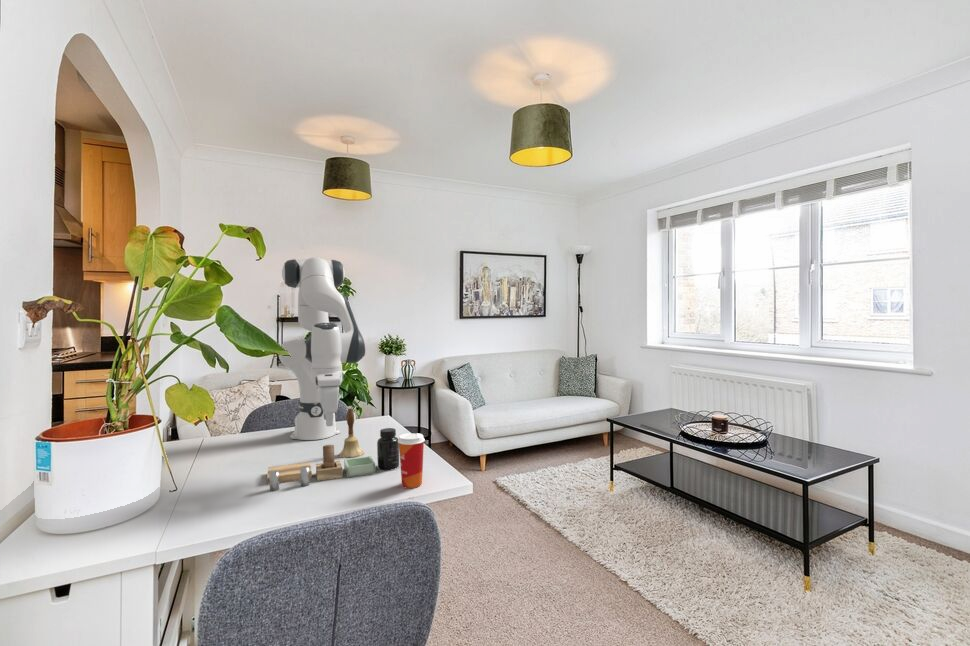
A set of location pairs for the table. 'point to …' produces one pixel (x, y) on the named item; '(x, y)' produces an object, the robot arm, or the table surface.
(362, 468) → the tray
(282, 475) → the curved tan panel
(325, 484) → the table surface
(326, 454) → the dowel
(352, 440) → the hand bell
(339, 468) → the socket block
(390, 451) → the supplement bottle
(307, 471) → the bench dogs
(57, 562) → the table surface
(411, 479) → the paper cup
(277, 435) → the table surface
